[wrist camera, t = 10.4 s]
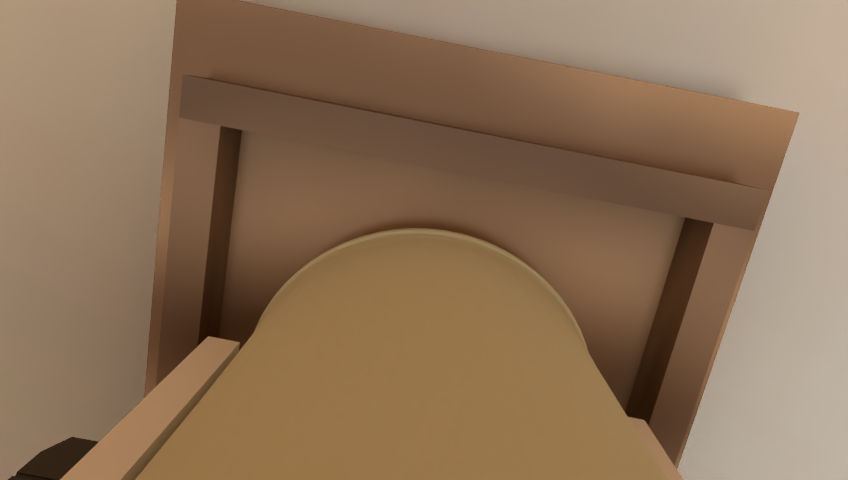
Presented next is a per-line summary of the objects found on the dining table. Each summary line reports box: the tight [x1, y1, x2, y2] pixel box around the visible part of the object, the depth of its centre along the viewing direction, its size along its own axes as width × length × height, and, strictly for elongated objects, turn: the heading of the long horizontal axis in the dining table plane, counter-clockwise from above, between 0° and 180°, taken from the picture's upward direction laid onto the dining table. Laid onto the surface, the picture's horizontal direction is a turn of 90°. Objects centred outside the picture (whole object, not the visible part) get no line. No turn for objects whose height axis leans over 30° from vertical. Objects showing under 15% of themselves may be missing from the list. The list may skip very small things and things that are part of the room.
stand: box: [144, 0, 799, 469], centre depth 17 cm, size 18×16×4 cm
